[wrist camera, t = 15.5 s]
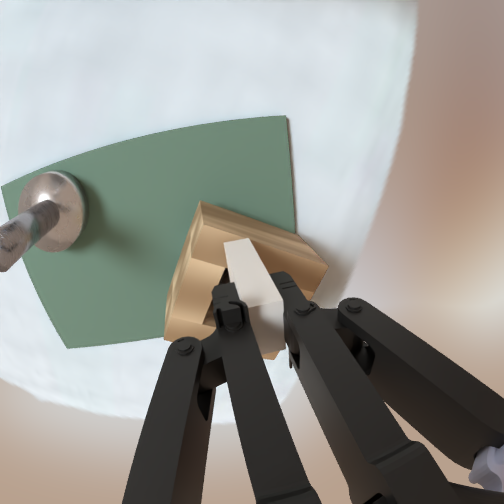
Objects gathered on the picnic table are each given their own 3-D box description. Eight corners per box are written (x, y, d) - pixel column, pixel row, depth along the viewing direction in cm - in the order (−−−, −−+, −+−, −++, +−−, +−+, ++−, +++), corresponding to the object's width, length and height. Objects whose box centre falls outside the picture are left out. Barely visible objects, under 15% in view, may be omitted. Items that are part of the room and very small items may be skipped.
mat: (3, 185, 18) (0, 186, 17) (284, 115, 22) (285, 115, 21) (68, 346, 26) (67, 348, 26) (296, 307, 30) (297, 309, 30)
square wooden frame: (199, 200, 21) (203, 224, 16) (298, 235, 24) (328, 266, 19) (167, 295, 24) (163, 339, 18) (257, 317, 27) (273, 360, 21)
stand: (21, 182, 18) (-46, 214, 9) (79, 160, 19) (16, 181, 10) (40, 250, 21) (-11, 306, 12) (98, 235, 22) (55, 294, 13)
